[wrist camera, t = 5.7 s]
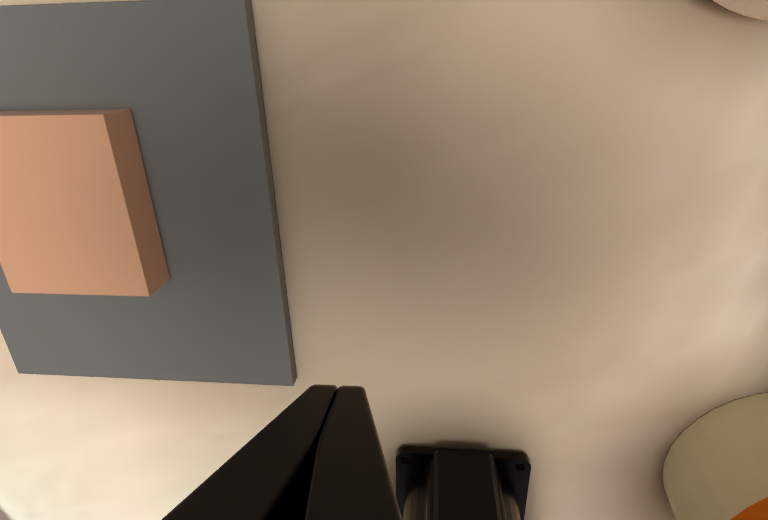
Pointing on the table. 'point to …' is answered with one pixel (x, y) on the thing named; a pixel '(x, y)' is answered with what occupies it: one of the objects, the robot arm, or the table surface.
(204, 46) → the mat
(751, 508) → the reusable coffee cup
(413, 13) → the table surface
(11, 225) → the tile
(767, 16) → the mug
